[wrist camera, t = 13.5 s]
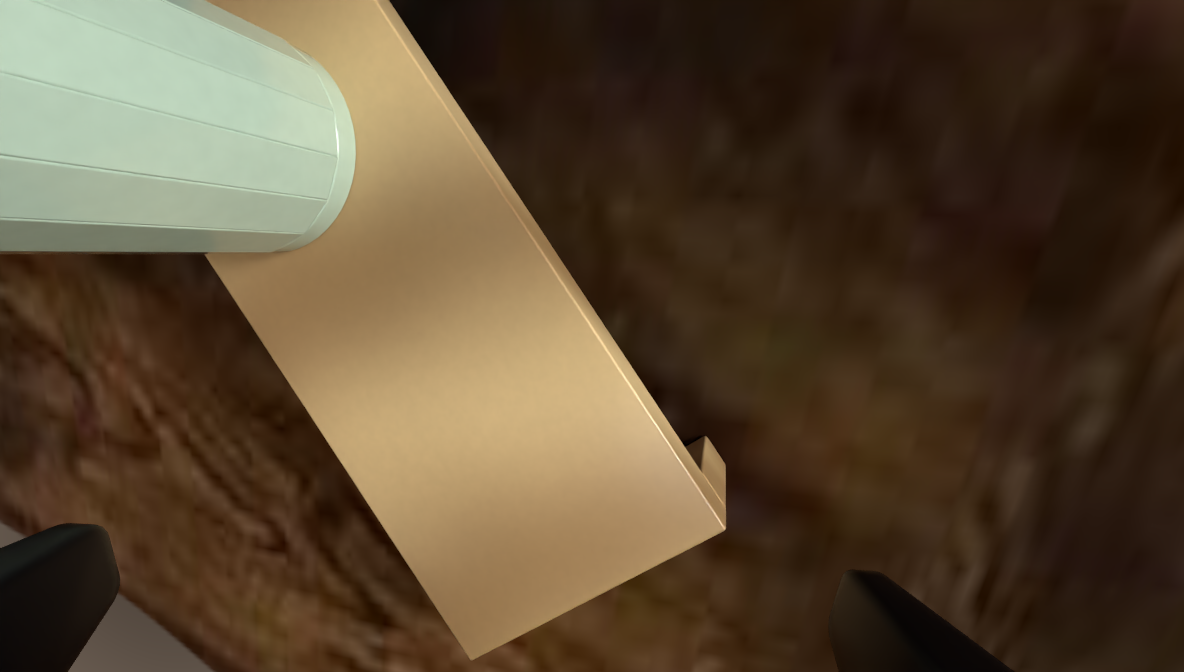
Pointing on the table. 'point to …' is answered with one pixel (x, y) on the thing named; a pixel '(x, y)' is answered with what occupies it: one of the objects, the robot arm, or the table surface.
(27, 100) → the pencil cup
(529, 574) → the desk shelf
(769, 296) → the table surface
